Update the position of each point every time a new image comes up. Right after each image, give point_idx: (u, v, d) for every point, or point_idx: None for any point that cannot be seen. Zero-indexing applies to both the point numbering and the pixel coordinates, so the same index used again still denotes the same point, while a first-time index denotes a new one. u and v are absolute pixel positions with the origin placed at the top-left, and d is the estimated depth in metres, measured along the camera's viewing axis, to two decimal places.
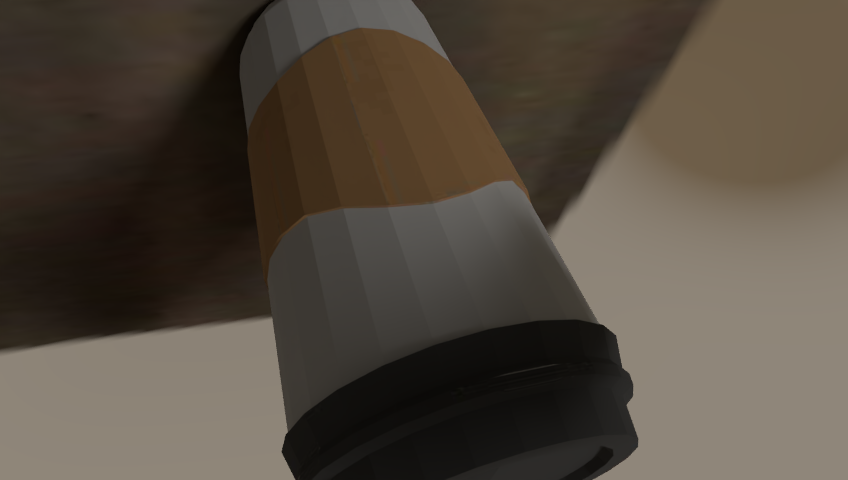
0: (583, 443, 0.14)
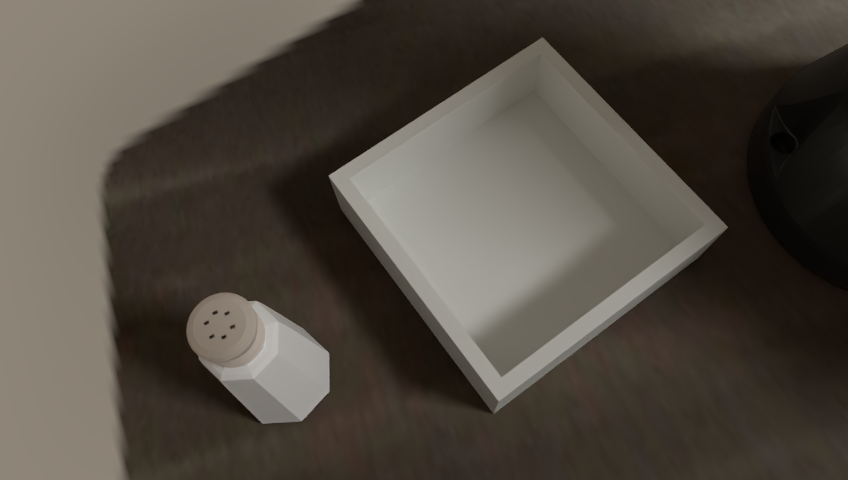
0: None
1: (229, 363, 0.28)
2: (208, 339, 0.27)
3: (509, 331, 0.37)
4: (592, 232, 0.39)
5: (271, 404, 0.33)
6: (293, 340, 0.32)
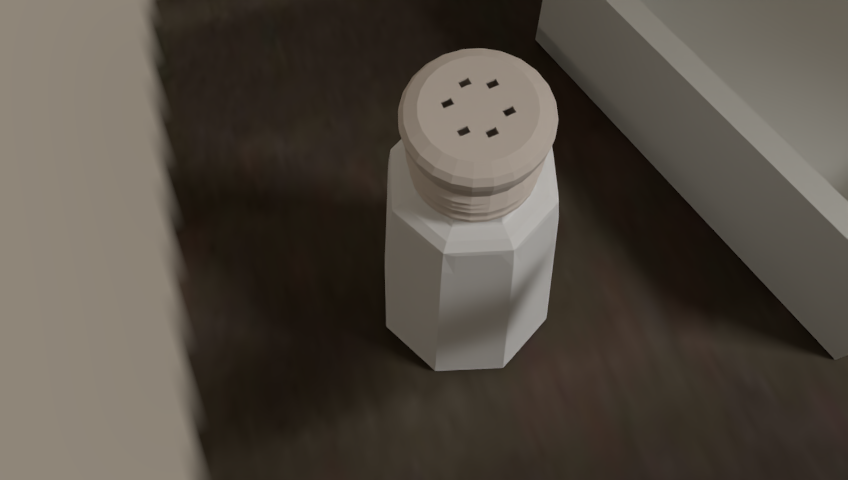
0: None
1: (486, 203, 0.12)
2: (456, 137, 0.12)
3: None
4: None
5: (488, 325, 0.18)
6: None
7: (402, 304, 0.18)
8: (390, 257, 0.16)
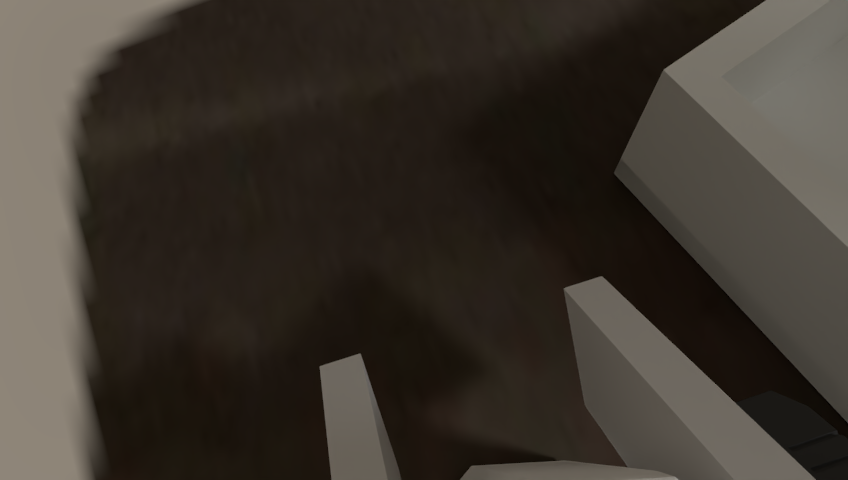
0: None
1: None
2: None
3: None
4: None
5: None
6: None
7: None
8: None
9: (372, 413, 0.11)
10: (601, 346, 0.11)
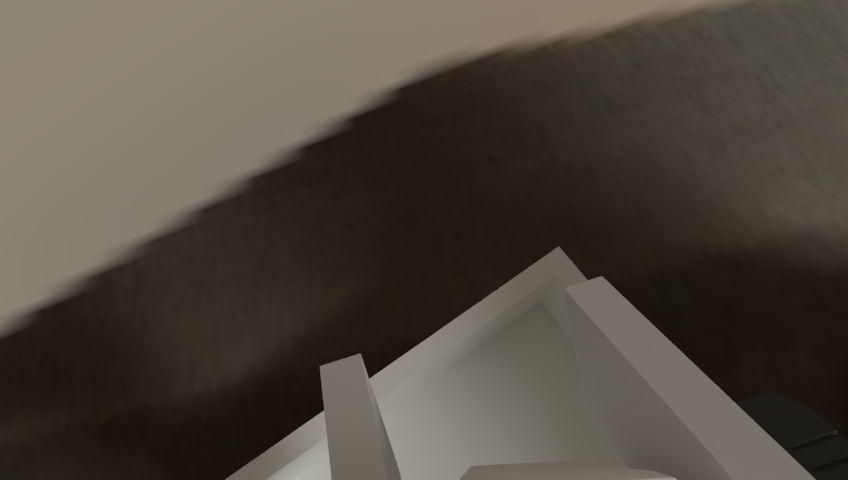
0: None
1: None
2: None
3: None
4: None
5: None
6: None
7: None
8: None
9: (372, 413, 0.11)
10: (601, 346, 0.11)
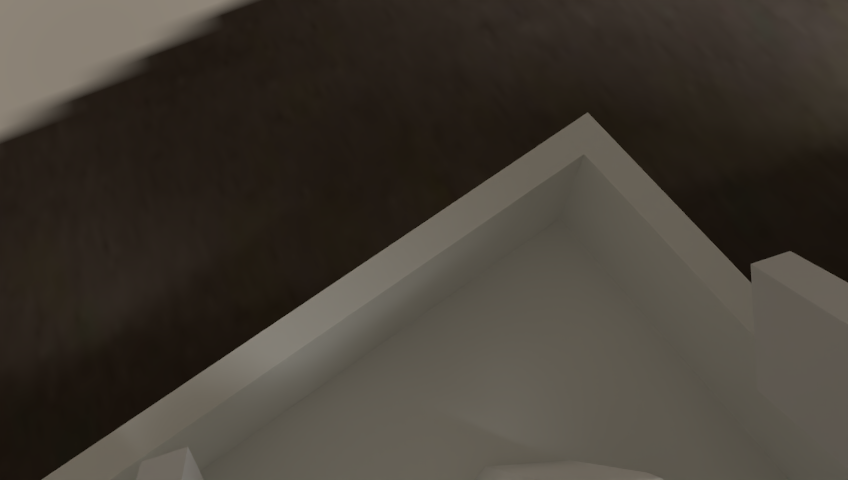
0: None
1: None
2: None
3: None
4: None
5: None
6: None
7: None
8: None
9: None
10: (812, 323, 0.11)
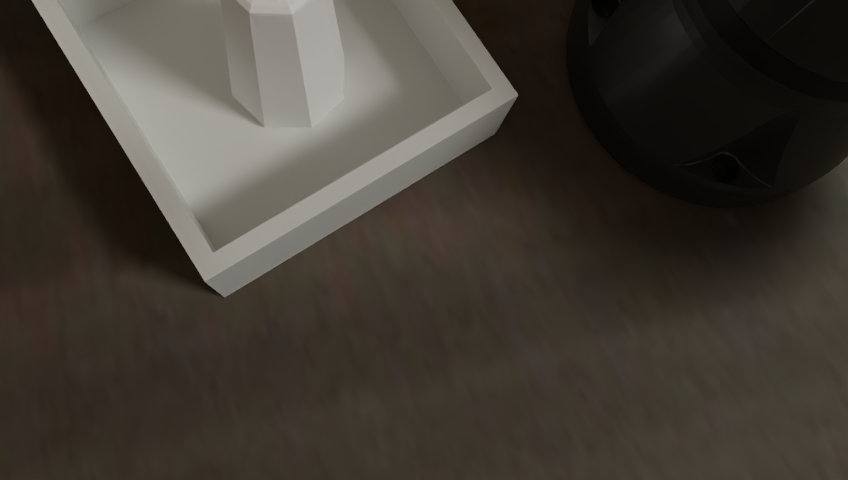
0: None
1: None
2: None
3: (253, 200, 0.30)
4: (372, 91, 0.32)
5: (291, 81, 0.27)
6: None
7: (237, 67, 0.28)
8: (224, 25, 0.25)
9: None
10: None
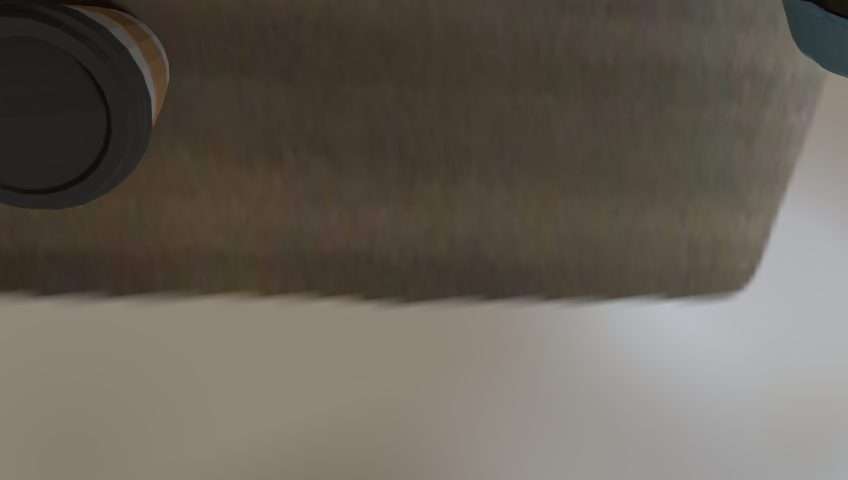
0: (114, 148, 0.27)
1: None
2: None
3: None
4: None
5: None
6: None
7: None
8: None
9: None
10: None
